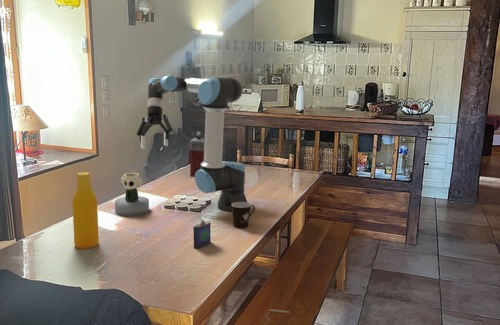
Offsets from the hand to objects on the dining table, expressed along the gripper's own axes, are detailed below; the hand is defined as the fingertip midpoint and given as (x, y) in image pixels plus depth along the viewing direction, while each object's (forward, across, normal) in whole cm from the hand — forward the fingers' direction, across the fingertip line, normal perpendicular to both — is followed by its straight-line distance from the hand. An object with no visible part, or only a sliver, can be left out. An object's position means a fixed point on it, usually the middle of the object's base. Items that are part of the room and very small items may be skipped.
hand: (154, 147), depth 249 cm
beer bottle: (+52, -1, +49) cm, 71 cm away
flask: (+53, -43, +30) cm, 74 cm away
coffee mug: (+44, -50, +4) cm, 67 cm away
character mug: (+29, +5, +11) cm, 31 cm away
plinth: (+33, +6, +9) cm, 35 cm away
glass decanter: (+3, +8, -63) cm, 64 cm away
